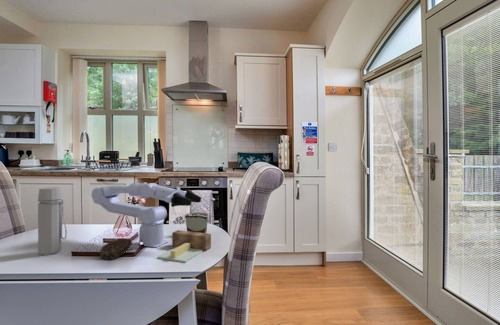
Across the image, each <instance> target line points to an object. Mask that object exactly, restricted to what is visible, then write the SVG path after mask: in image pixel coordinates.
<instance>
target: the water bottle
mask: <svg viewBox="0 0 500 325" xmlns="http://www.w3.org/2000/svg"><path fill="white" fill-rule="evenodd" d="M37 202H38V204H37V230H38V232H37V234H38V235H37V241H38V242H37V245H38V246H37V247H38V248H37V250H38V251H37V253H38V254H39V255H41V256H51V255H56V254H57V253H59V252H60V251H61V250H62V240H66V239H67V233H68V232H67V225H66V217H65V209H64V202H65V200H64V199H62V192H61V187H59V186H58V187H52V186H51V187H41V188H39V189H38V197H37ZM63 223H64V224H63ZM63 225H64V230H65V231H64V232H65V235H64V238H63Z"/></svg>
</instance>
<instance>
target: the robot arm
mask: <svg viewBox="0 0 500 325" xmlns="http://www.w3.org/2000/svg"><path fill="white" fill-rule="evenodd" d="M120 194H128V195H129V196H130V197H141V198H142V197H143V198H144V199H148V198H152V199H156V200H160V201H164V202H165V203H168V204H171V207H172V208H174V207H180V206H181V207H182V206H184V207H185V206H187V207H190V206H191V205H192V203H201V201H202V197H201V196H199V195H197V194H196V193H194V192H193V191H192V189H186V191H184V190H181V187H180V186H178V187H175V188H171V187H168V186H164V185H159V184H158V183H156V182H151V183H148V182H147V181H146V182H142V183H141V182H140V183H139V182H138V181H134V182H132V183H130V184H129V185H120V184H116V185H115V184H114V185H108V186H101V187H95V188H93V189H92V191H91V199H92V200H93V202H94V204H96V205H99V206H101V207H102V208H103V209H105V211H107V212H109V213H113V214H117V215H121V216H122V215H123V216H127V217H133V218H137V219H138V221H140V222H142V224H140V227H139V231H138V232H139V233H138V234H139V235H138V236H139V237H138V240H139V241H138V242H143V243H145V244H144V246H145V247H150V248H158V247H160V246H162V245H164V244H167V243H168V240H164V222H165V219H166V218H167V216H168V212H167V209H166V207H165V206H163V205H159V206H143V205H138V204H131V203H127V202H121V200H120V196H119V195H120ZM144 246H143V247H144Z"/></svg>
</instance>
